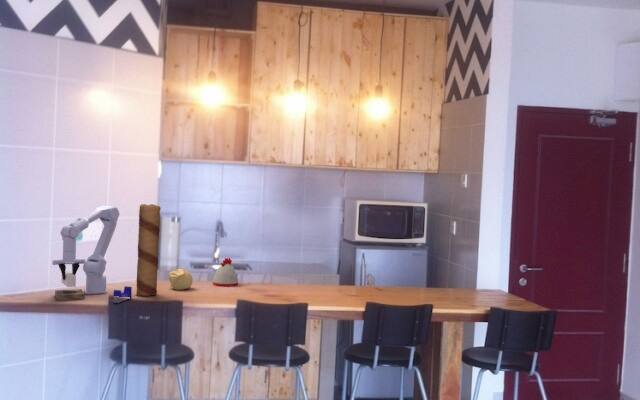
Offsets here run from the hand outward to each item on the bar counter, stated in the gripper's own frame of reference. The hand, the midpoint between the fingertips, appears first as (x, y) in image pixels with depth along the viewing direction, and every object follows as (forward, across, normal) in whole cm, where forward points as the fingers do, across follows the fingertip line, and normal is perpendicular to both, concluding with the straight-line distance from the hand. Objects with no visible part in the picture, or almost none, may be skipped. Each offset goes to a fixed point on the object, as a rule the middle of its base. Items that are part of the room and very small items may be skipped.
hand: (68, 279), depth 307 cm
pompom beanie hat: (+9, -86, -8) cm, 86 cm away
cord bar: (+2, 0, 0) cm, 2 cm away
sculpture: (+9, -58, -4) cm, 58 cm away
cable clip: (+9, -20, +16) cm, 28 cm away
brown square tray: (+9, 0, +1) cm, 9 cm away
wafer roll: (+9, -36, +6) cm, 37 cm away
